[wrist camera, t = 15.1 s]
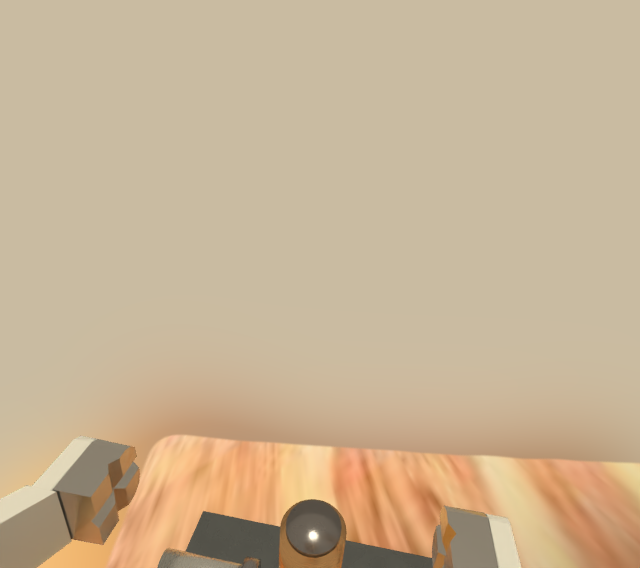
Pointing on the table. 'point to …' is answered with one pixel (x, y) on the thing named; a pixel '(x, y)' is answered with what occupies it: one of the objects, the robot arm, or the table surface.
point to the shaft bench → (266, 548)
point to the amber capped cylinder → (312, 536)
